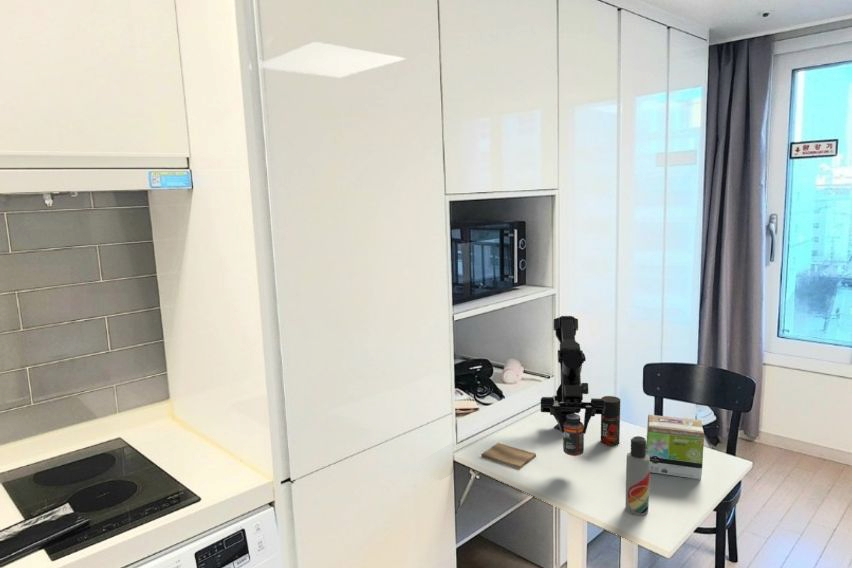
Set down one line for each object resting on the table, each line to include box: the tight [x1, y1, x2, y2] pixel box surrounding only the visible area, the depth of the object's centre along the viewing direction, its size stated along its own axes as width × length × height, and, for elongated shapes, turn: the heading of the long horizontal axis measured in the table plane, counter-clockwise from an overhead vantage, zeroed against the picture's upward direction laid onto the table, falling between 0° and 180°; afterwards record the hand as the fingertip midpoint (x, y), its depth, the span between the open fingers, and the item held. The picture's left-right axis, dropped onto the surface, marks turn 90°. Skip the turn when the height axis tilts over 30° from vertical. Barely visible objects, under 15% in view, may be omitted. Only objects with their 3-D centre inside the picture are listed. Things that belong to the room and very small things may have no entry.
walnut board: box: [480, 442, 537, 470], centre depth 184 cm, size 10×14×1 cm
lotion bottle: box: [625, 435, 651, 516], centre depth 150 cm, size 6×6×20 cm
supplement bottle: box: [562, 413, 585, 457], centre depth 171 cm, size 6×6×11 cm
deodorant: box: [600, 395, 621, 447], centre depth 191 cm, size 6×6×15 cm
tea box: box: [646, 414, 705, 481], centre depth 172 cm, size 15×10×15 cm
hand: (573, 433), depth 169 cm, fingers closed on supplement bottle, 6 cm apart
